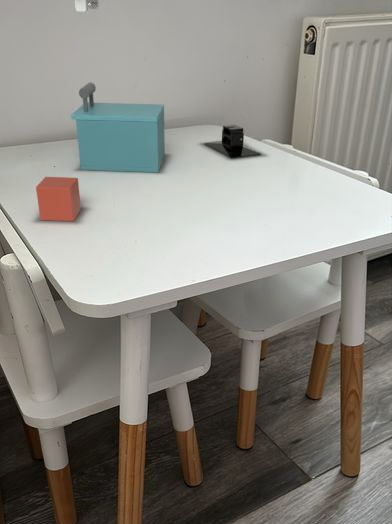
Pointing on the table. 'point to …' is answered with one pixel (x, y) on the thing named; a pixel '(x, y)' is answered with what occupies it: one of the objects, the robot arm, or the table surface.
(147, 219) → the table surface
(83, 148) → the box
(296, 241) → the table surface
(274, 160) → the table surface
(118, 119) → the freezer lid
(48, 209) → the red cube
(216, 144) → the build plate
